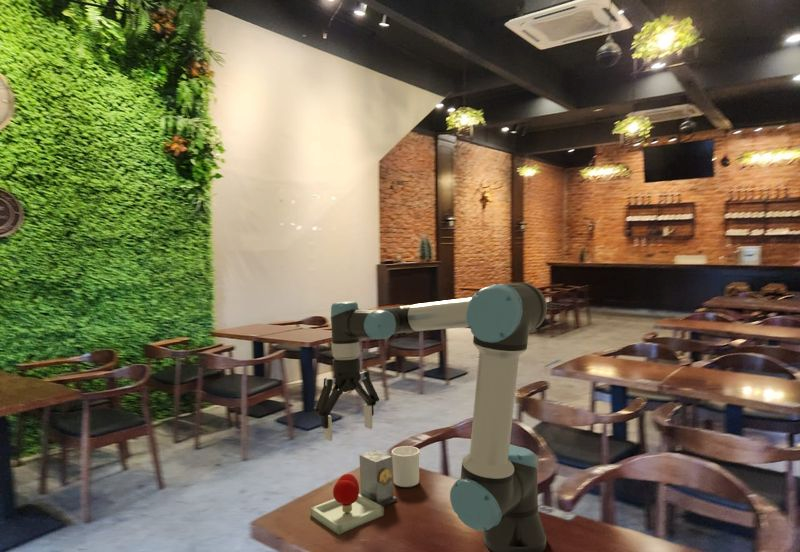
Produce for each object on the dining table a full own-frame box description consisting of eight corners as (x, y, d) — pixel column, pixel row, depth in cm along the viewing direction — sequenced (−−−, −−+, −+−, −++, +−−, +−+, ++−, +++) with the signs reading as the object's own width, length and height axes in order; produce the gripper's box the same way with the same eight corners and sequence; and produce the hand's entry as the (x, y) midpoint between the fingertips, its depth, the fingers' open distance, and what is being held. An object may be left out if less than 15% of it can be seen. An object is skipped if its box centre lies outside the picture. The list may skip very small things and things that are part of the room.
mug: (417, 490, 157) (416, 456, 157) (389, 488, 159) (388, 455, 159) (424, 475, 168) (423, 444, 168) (397, 474, 170) (396, 443, 170)
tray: (384, 515, 142) (383, 507, 142) (338, 534, 133) (338, 526, 133) (354, 498, 153) (354, 491, 153) (310, 515, 143) (310, 507, 143)
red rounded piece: (354, 522, 138) (352, 485, 137) (329, 520, 139) (327, 484, 139) (363, 505, 147) (362, 471, 146) (340, 504, 148) (338, 470, 148)
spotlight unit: (396, 501, 151) (395, 457, 150) (378, 508, 146) (376, 463, 146) (376, 490, 158) (374, 448, 158) (357, 497, 154) (356, 454, 153)
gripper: (373, 350, 154) (375, 420, 154) (299, 362, 137) (302, 441, 138) (389, 352, 148) (392, 425, 148) (314, 365, 132) (317, 448, 132)
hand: (349, 433), depth 143 cm, fingers open, 13 cm apart
